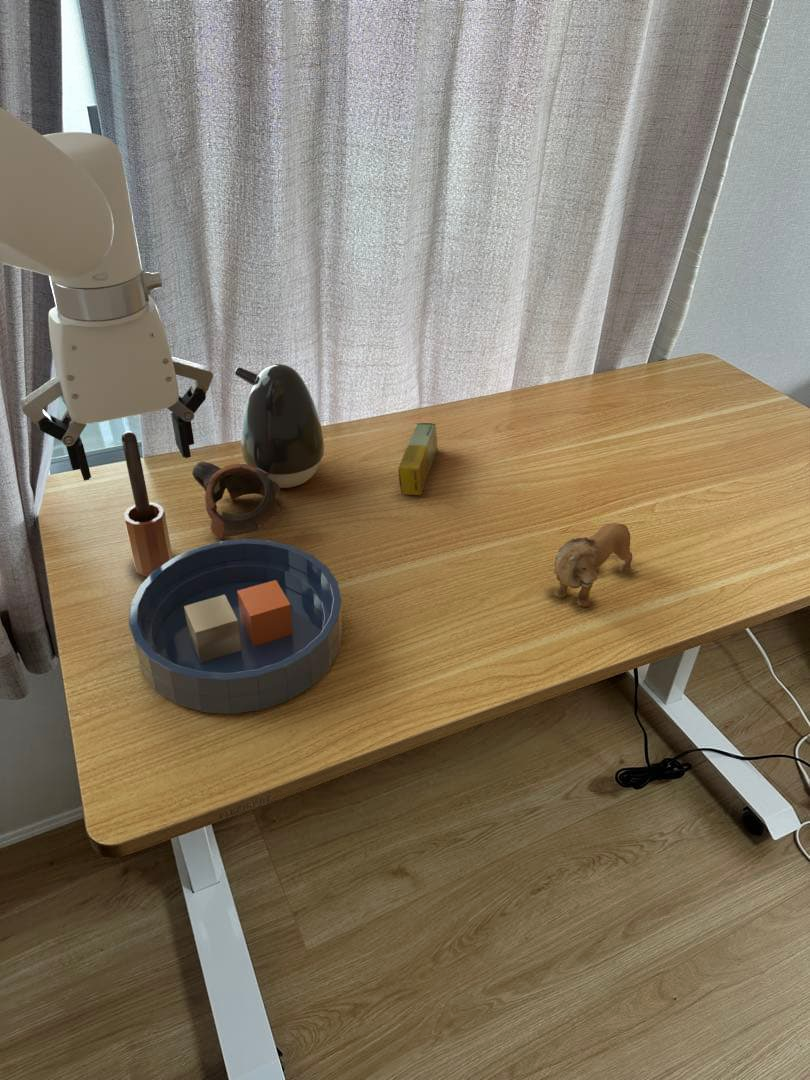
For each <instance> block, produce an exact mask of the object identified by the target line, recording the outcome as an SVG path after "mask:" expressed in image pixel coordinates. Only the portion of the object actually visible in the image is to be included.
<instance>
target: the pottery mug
mask: <svg viewBox="0 0 810 1080" xmlns="http://www.w3.org/2000/svg"><path fill="white" fill-rule="evenodd" d="M191 474H192V476H193V479H195V481H196V482H197V483H198V484H199V485H200V486H201V487H202V488H203V489H204V492H205V494H204V503H205V509H206V512H207V515H208V517H209V518H210V519H211V523H210V527H209V529H210V530H211V533H212V534H213V535H214V536H216V537H217V538H219V539H220V540H222V539H224V538H225V537H227V538H228V537H236V536H241V535H245V534H249V533H252V532H256V531H257V530H259V526H260V527H263V526H265V524H267V523H268V521H269V520H270V519H271V517H273V516H275V514H279V513H280V512H281V509H280V508H279V507H280V506H279V505H278V503H277V501H276V499H277V495H278V494H279V492H280V491H281V488H279V485H278V484H277V483H275V482H274V481H273V480H271V479H270V478H268V477H267V476H269V474H268V473H267V472H265V471H264V470H262V469H259V468H256V467H254V466H251V465H247V464H246V463H233V464H229V465H225V466H223V467H220V466H218V465H215V464H214V463H211V462H207V461H199V462H197V463H196V464H195V466H193V468H192V473H191ZM226 490H227V493H228V495H229V498H230V500H232V501H234V500H236V499H237V498H240V497H243V496H246V495H260V496H262V497H263V499H262V500H261V502H260V503H259V505H257V507H256V508H255V509H252V511H249V512H245V513H243V514H231V513H227V512H224V511H222V513H221V514H220V513H219V512H218V506H217V503H218V502H219V501H221V500H222V499H223V497H224V493H225V491H226Z"/></svg>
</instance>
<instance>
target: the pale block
mask: <svg viewBox="0 0 810 1080" xmlns="http://www.w3.org/2000/svg"><path fill="white" fill-rule="evenodd" d="M184 610H185V616H186V621H187V627H188V632H189V637H190V639H191V642H192V644H193V647H194V649H195V651H196V654H197V656H198V659H199V661H200V663H203V662H206V661H209V660H212V659H216V658H219V657H222V656H225V655H228V654H232V653H235V652H238V651H241V643H240V635H239V627H238V620H237V618H236V616H235V614H234V612H233V610H232V608H231V606H230V604H229V602H228V600H227V598H226V596H225V595H222V596H218V597H214V598H211V599H207V600H204V601H200V602H197V603H193V604H190V605H186V606H184Z"/></svg>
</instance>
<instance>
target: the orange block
mask: <svg viewBox="0 0 810 1080" xmlns="http://www.w3.org/2000/svg"><path fill="white" fill-rule="evenodd" d="M237 594H238V602H239V610H240V618H241V622H242V624H243V626H244V628H245V630H246V632H247V634H248V636H249V638H250V640H251V642H252V644H253V646H257V645H260V644H264V643H267V642H270V641H273V640H276V639H280V638H283V637H286V636H289V635H292V620H291V605H290V603H289V601H288V599H287V598H286V596H285V594H284V592H283V591H282V589H281V587H280V586H279V584H278V582H277V580H274V581H270V582H267V583H263V584H260V585H256V586H253V587H249V588H246V589H242V590H239V591H237Z"/></svg>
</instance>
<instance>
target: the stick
mask: <svg viewBox="0 0 810 1080" xmlns="http://www.w3.org/2000/svg"><path fill="white" fill-rule="evenodd" d="M121 444H122V448H123V453H124V458H125V459H124V460H125V463H126V468H127V474H128V478H129V483H130V487H131V492H132V493H131V494H132V497H133V502H134V505H135V507H136V512H137V517H138V522H146V521H150V520H152V515H151V510H150V505H149V502H150V499H149V495H148V489H147V484H146V479H145V474H144V469H143V463H142V459H141V454H140V447H139V443H138V438H137V435H136V434H135V433H134V432H133V431H129V430H127V431H125V432H123V433H122V435H121Z"/></svg>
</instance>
